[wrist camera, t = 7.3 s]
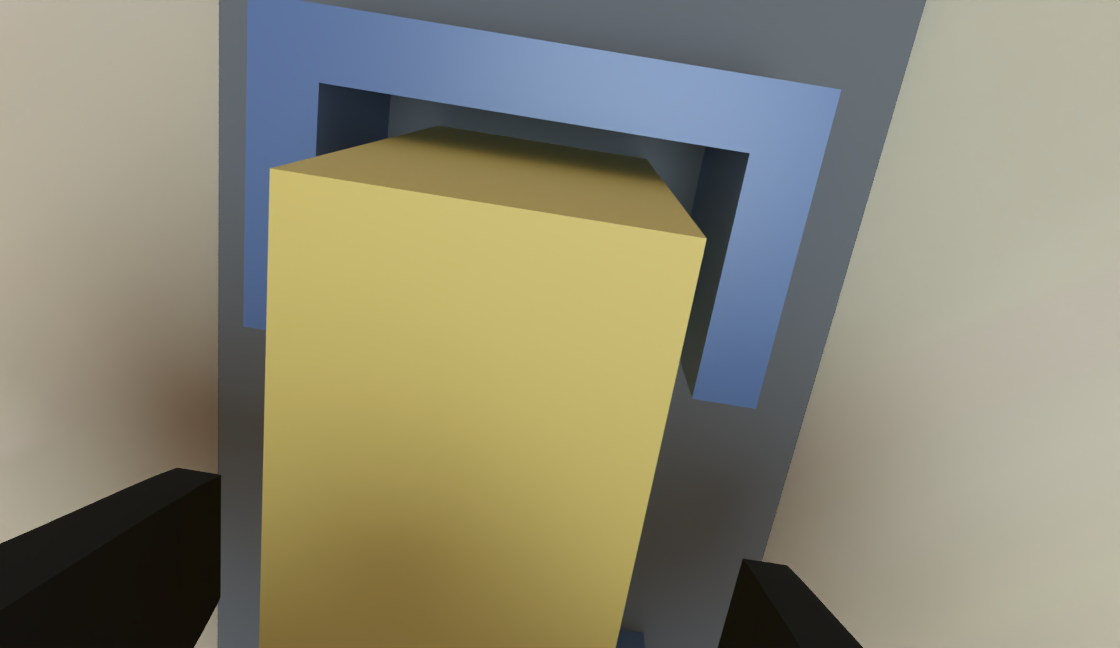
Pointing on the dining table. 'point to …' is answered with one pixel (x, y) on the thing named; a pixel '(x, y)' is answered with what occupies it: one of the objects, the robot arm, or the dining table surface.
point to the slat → (465, 390)
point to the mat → (825, 249)
